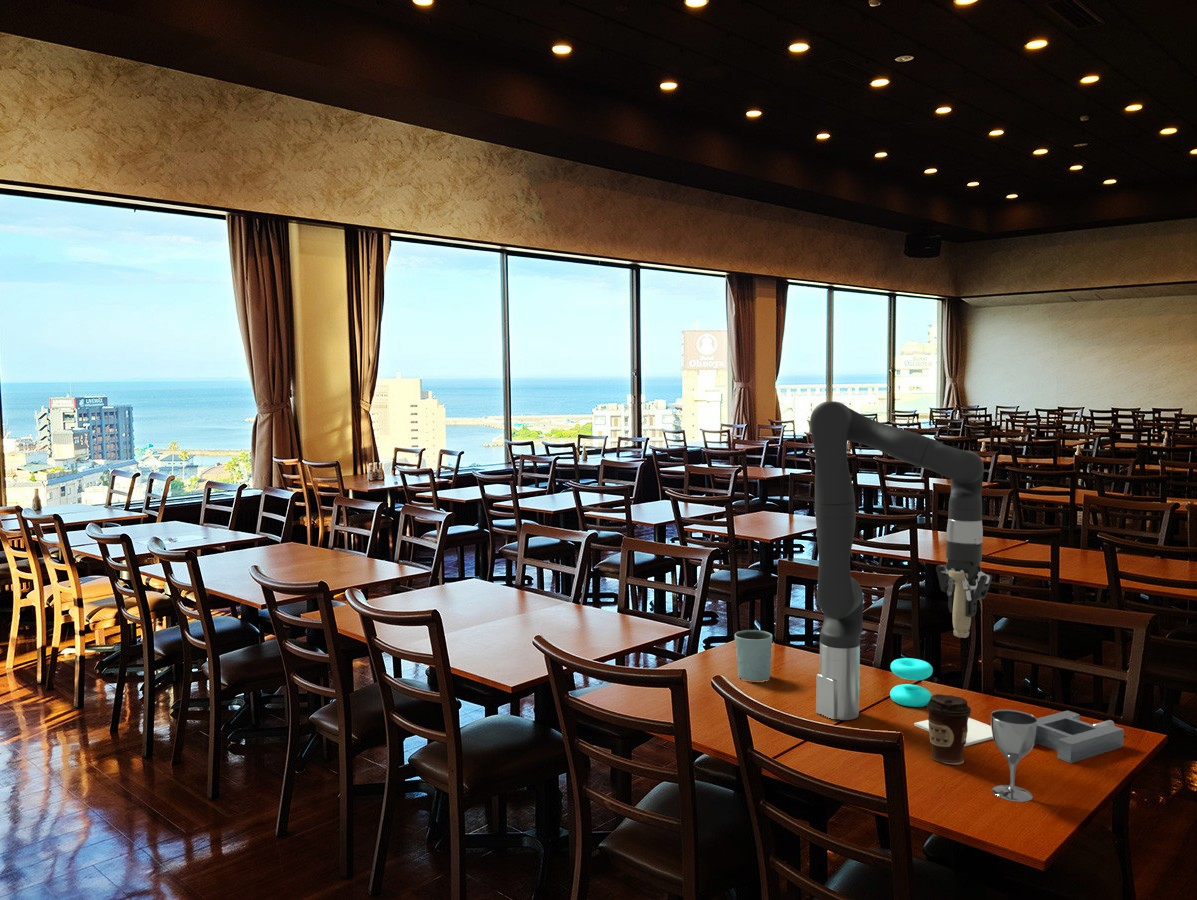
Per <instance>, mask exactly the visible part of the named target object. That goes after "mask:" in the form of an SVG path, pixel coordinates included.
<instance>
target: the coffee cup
mask: <svg viewBox="0 0 1197 900" xmlns="http://www.w3.org/2000/svg"><path fill="white" fill-rule="evenodd" d="M926 708H927V711H928V719H927V720H928V721H929V731H928V732H929V735H928V736H929V742H930V745H931V746H932V751H931V752H930V756H931V758H932V759H933V760H935V761H937V762H939V763H942V764H948V765H953V766H955V765H956V766H957V765H961V764H963V763H964V762H965V761H964V757H963V754H964V749H965V746H964V745H965V744H966V737H967V732H968V726H967V723H968V718H970V716H971V713H972V709H971V707H970V706H969V705H968V701H967V699H966V698H963V697H960V696H955V695H953V694H950V695H948V694H938V693H937V694H933V695H932V696H931V699H930V701H929V702H928V703H927V706H926Z"/></svg>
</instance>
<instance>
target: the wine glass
mask: <svg viewBox="0 0 1197 900" xmlns="http://www.w3.org/2000/svg"><path fill="white" fill-rule="evenodd" d="M990 726H991V729H992V735H993V739H992V740H993V741H994V745H996V746H995V747H996V748H998V750H999V751H1000V752H1001V754H1002V755H1003V756H1004V757H1005V759H1006V761H1007V763H1008V766H1009V776H1010V777H1009V784H999V785H995V786H993V787H992V789H991V792H992V791H993V792H992V793H993V794H994V795H995V796H996V795H997V796H996V797H998V796H999V797H998V798H1000V799H1003V800H1006V801H1009V802H1010V801H1011V802H1019V803H1023V802H1025V803H1026V802H1030V801H1031V800H1033V794H1032V793H1031V792H1030V791H1029V790H1027V789H1025V788H1023V787H1019V786H1016V785H1015V784H1016V783H1015V779H1016V772H1017V771H1016V770H1017V766H1018V764H1019V762H1020V761H1021V760H1022V759H1023V758H1024V757H1025V756H1026V755H1028V754H1029V753H1030V752H1031V751H1032V750H1033V747H1034V746H1035V745H1034V742H1035V738H1036V733H1037V717H1036V716H1034V715H1033V714H1031V713H1028V712H1024V711H1023V710H1022V711H1020V710H1015V709H1003V708H1002V709H996V710H993V711H992V712H991V713H990Z"/></svg>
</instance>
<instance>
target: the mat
mask: <svg viewBox="0 0 1197 900" xmlns="http://www.w3.org/2000/svg"><path fill="white" fill-rule="evenodd" d="M913 725H914V726H915V727H917V728H919V729H922V730H924V731H927V732H929V721H928V719H926V720H920V721H917V722H914V723H913ZM967 726H968V732H967V737H966V744H965V745H964V747H968V746H972V745H974V744H975V745H976V744H980V743H983V742H986V741H990V740H993V735H992V729H991V724H990V725H989V724H987V723H984V722H981V721H978V720H976V719H974V718H971V717H969V718H968V723H967Z"/></svg>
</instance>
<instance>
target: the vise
mask: <svg viewBox="0 0 1197 900" xmlns="http://www.w3.org/2000/svg"><path fill="white" fill-rule="evenodd" d="M1080 718H1081V714H1079V713H1077V712H1074V711H1070V710H1064V711H1060V712H1056V713H1053V714H1049V715H1045V716H1041V717H1039V718H1037V717H1036V719H1037V733H1036V738H1035V742H1034V746H1035V745H1037V744H1038V745H1041V746H1044V747H1046V748H1048V749H1051V750H1054V751H1056V752H1057V755H1056V756H1057V759H1059V760H1062V761H1064V762H1066V763H1069V764H1073V763H1075V762H1076V763H1077V762H1080V761H1083V760H1086V759H1088V758H1089V759H1090V758H1094V757H1095V756H1096V757H1097V756H1098V755H1102V754H1105V752H1106V753H1108V752H1112V751H1115V750H1117V749H1118V748H1119V749H1122V748H1124V739H1125V738H1124V735H1125V734H1124V733H1125V732H1124V731H1125V729H1124V728H1122V727H1118V726H1116V725H1115V722H1114V721H1113V720H1111V719H1108V720H1105V721H1100V722H1098V723H1093V724H1091V723H1090V722H1089V723H1088V722H1086V721H1082V720H1081V719H1080ZM1121 747H1122V748H1121ZM1119 749H1118V750H1119Z"/></svg>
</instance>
